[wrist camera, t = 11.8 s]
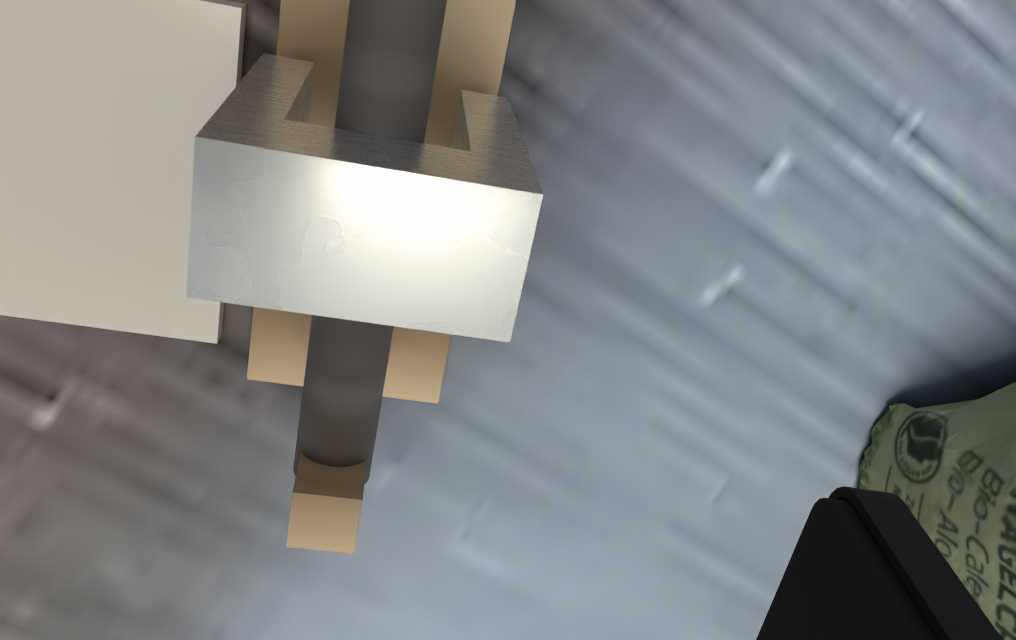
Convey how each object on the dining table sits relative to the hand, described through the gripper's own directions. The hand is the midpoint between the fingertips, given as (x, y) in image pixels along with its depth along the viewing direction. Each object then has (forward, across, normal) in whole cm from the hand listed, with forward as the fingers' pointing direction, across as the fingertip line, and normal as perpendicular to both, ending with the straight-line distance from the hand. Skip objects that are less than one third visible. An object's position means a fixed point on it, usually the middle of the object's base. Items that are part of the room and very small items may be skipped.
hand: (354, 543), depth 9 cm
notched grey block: (+16, +1, 0) cm, 16 cm away
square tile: (+19, +10, +3) cm, 21 cm away
